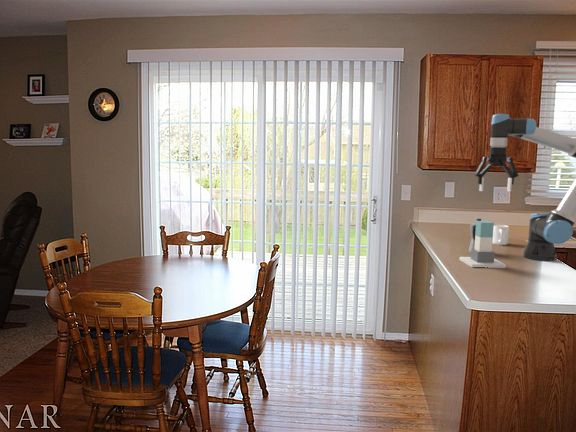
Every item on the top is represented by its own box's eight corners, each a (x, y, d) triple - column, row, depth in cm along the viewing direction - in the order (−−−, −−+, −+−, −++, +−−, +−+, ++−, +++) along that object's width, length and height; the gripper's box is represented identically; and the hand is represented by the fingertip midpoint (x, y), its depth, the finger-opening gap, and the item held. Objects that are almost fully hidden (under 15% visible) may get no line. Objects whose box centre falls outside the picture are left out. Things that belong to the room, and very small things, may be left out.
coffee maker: (471, 248, 272) (473, 216, 269) (488, 251, 267) (490, 218, 264) (463, 253, 260) (466, 219, 257) (481, 255, 255) (483, 221, 252)
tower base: (491, 260, 244) (492, 247, 243) (505, 267, 228) (506, 254, 228) (459, 259, 244) (460, 246, 243) (471, 267, 228) (472, 253, 227)
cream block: (486, 249, 238) (487, 235, 238) (491, 251, 233) (492, 237, 232) (474, 249, 238) (475, 234, 237) (479, 251, 232) (480, 237, 232)
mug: (492, 245, 282) (493, 227, 281) (491, 242, 293) (492, 224, 292) (508, 246, 279) (510, 228, 278) (506, 243, 291) (508, 225, 289)
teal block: (487, 235, 237) (488, 220, 236) (492, 237, 231) (493, 222, 231) (475, 235, 237) (476, 220, 236) (480, 237, 231) (481, 222, 230)
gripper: (520, 147, 238) (516, 190, 240) (469, 146, 237) (466, 190, 240) (528, 147, 230) (524, 192, 233) (475, 146, 230) (472, 191, 233)
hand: (495, 191), depth 237 cm, fingers open, 13 cm apart
